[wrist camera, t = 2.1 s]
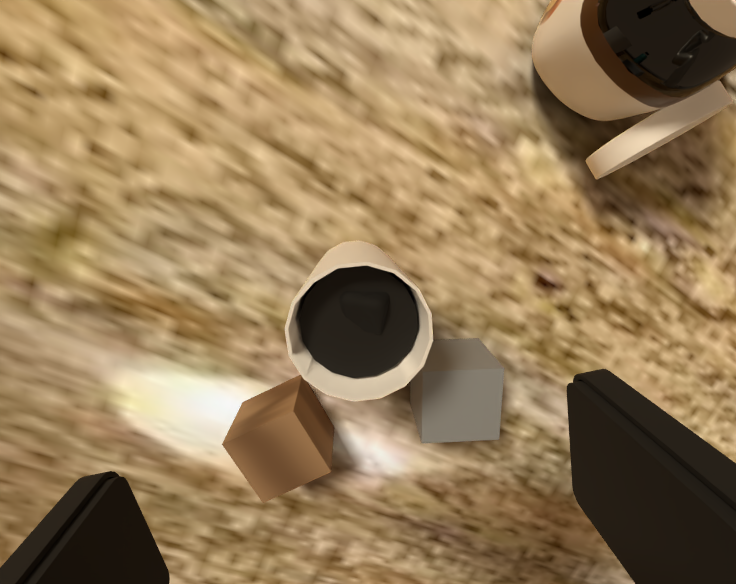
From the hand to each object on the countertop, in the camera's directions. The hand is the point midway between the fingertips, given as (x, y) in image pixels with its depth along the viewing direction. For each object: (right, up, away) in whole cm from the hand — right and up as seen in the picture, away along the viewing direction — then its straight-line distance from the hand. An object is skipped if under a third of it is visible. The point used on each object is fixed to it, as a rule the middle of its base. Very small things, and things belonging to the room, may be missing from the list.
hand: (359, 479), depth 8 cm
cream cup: (-1, +5, +19) cm, 20 cm away
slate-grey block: (+6, -2, +21) cm, 22 cm away
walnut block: (-6, -5, +22) cm, 23 cm away
